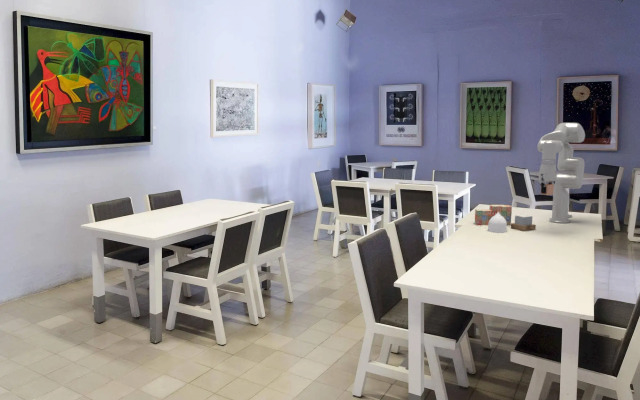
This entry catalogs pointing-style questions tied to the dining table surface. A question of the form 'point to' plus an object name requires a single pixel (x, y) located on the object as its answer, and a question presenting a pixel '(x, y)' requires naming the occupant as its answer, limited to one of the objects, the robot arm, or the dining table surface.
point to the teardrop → (497, 224)
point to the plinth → (523, 227)
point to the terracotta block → (549, 189)
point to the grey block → (523, 220)
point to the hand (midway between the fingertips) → (546, 192)
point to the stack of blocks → (493, 214)
